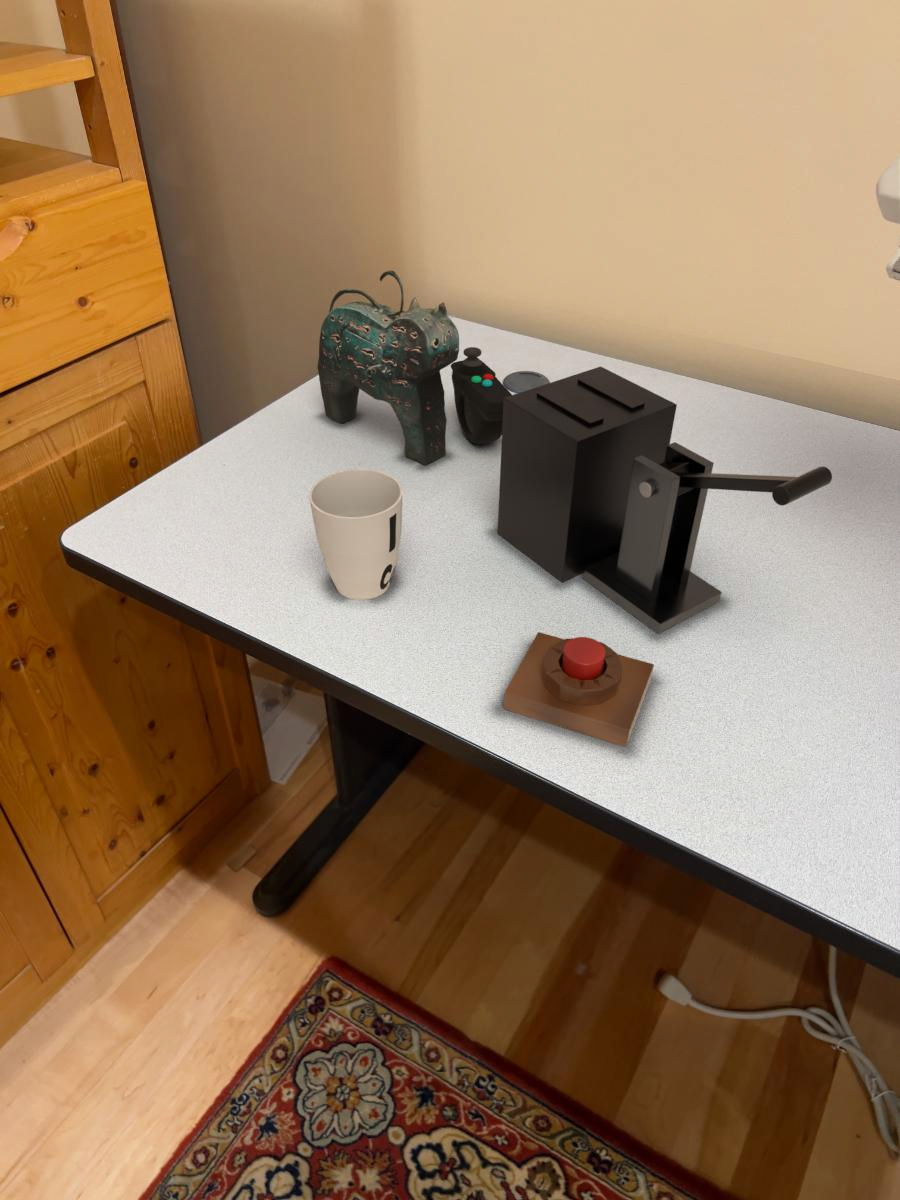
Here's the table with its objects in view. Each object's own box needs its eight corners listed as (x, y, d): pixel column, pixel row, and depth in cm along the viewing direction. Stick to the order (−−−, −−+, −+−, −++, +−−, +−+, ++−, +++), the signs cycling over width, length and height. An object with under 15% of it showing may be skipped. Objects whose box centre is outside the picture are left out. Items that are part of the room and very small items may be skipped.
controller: (478, 416, 110) (480, 338, 103) (519, 463, 101) (525, 381, 94) (445, 422, 108) (446, 343, 102) (485, 470, 99) (488, 387, 93)
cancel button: (607, 659, 70) (610, 643, 69) (596, 685, 68) (598, 668, 67) (569, 648, 71) (571, 632, 70) (556, 673, 69) (558, 657, 68)
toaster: (652, 541, 89) (677, 401, 79) (562, 583, 83) (577, 438, 74) (585, 497, 95) (601, 363, 85) (497, 533, 90) (503, 394, 80)
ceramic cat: (462, 457, 102) (465, 283, 89) (423, 478, 98) (420, 300, 85) (348, 403, 112) (336, 240, 100) (308, 420, 108) (291, 253, 96)
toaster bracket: (719, 602, 81) (752, 471, 72) (658, 634, 78) (685, 501, 69) (641, 550, 87) (663, 424, 79) (581, 578, 84) (597, 449, 75)
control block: (650, 680, 73) (657, 649, 71) (626, 747, 67) (632, 715, 65) (536, 648, 76) (539, 617, 74) (503, 709, 70) (505, 677, 68)
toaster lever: (834, 491, 65) (830, 459, 64) (790, 512, 63) (787, 480, 62) (680, 483, 78) (676, 456, 77) (639, 500, 75) (635, 473, 75)
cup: (402, 611, 80) (399, 519, 74) (313, 610, 80) (302, 517, 74) (408, 558, 86) (405, 469, 80) (325, 557, 86) (315, 468, 80)
